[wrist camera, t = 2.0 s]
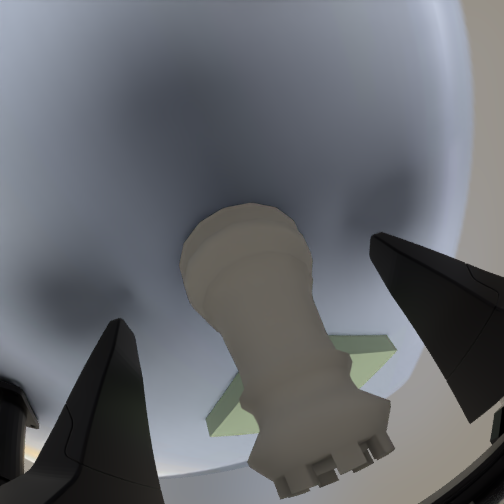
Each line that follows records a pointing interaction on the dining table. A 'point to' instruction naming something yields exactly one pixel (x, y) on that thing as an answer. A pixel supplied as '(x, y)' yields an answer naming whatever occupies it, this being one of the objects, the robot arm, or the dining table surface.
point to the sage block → (359, 347)
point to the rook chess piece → (281, 349)
